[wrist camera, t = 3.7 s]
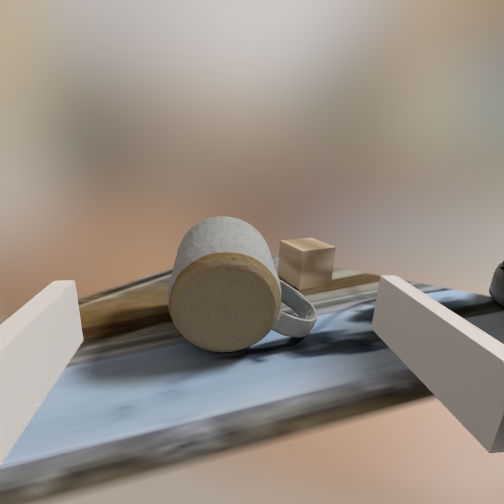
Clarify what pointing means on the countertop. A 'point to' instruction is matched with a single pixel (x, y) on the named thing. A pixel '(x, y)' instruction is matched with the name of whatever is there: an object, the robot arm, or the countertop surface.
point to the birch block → (306, 262)
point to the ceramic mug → (231, 289)
